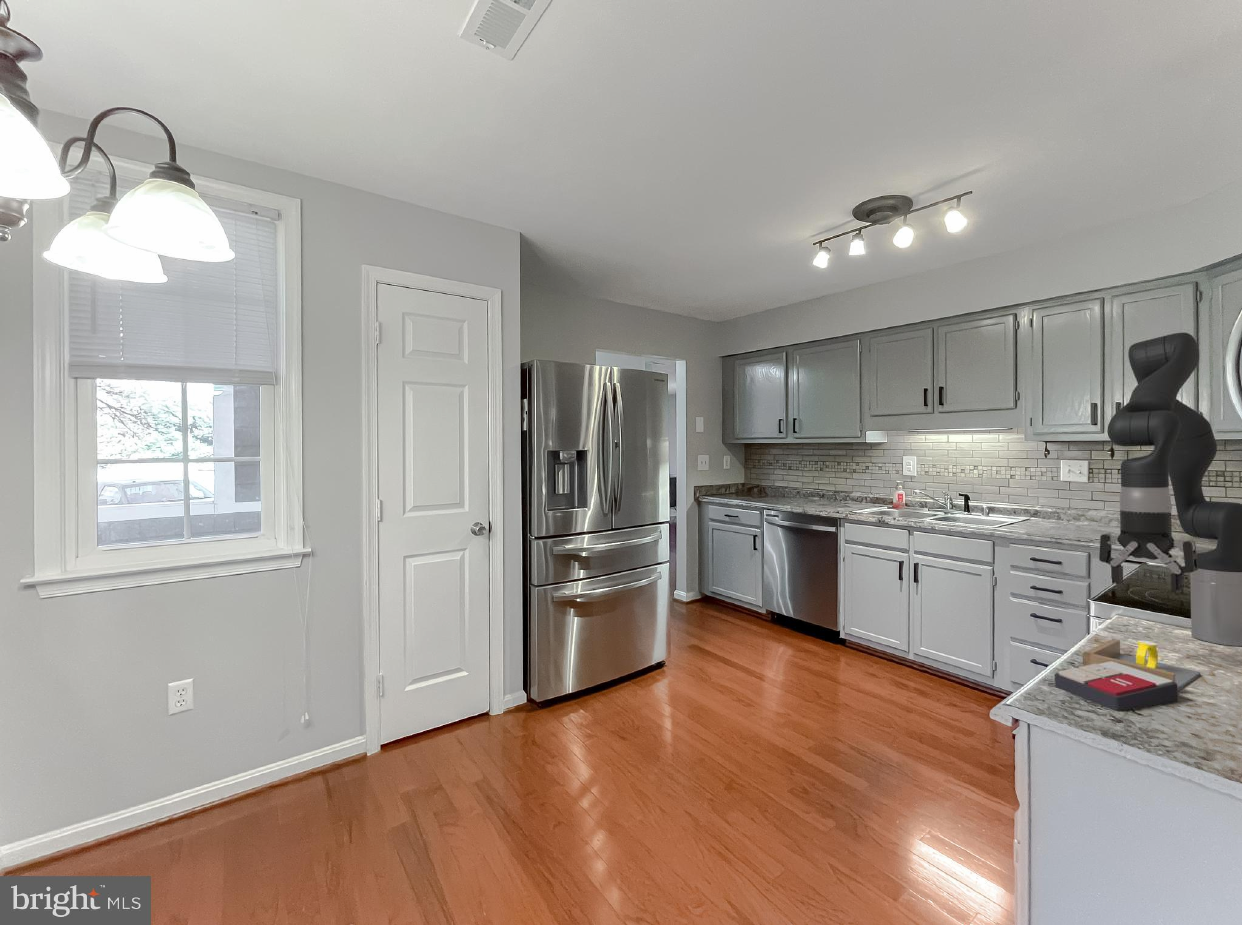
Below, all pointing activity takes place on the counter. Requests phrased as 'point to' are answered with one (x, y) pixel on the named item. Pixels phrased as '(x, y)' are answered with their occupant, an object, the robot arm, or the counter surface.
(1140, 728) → the counter surface
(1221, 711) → the counter surface
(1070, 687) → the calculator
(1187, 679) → the corner tray
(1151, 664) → the watch
